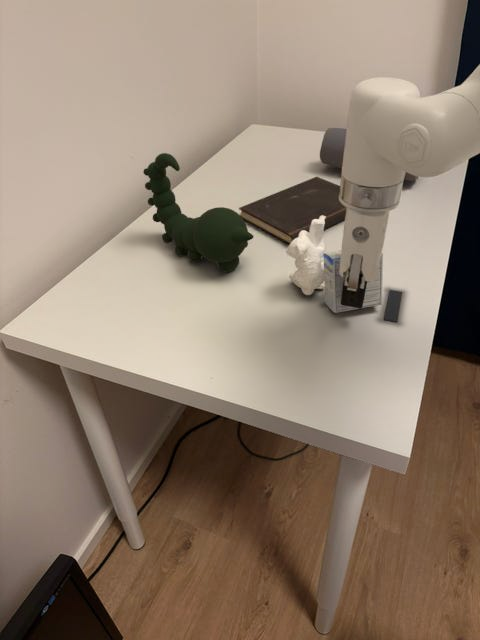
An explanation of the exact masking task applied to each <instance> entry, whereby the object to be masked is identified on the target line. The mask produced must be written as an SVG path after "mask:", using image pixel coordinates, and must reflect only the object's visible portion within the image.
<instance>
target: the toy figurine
mask: <svg viewBox="0 0 480 640" xmlns="http://www.w3.org/2000/svg"><path fill="white" fill-rule="evenodd" d="M168 167H170V168H172V169H173V170H175V171H176V172H179V171H180V164H179V162H178V161H177V159H176V157H175V156H173V155H172V154H171V153H167V152H162V153H159V154H158V155H157V156H156V157H155V158H154V161H153V162H150V163H149V164H148V166H147V167H146V168H144V169H143V172H142V173H143V175H144V176H147V177H148V179H149V181H147V182H145V184H144V188H145V190H147V191H151V193H152V197H149V198H148V199H147V204H148V205H149V206H154V207H155V208H156V212H155V213H153V215H152V220H153V222H155V223H161V225H163V228H164V231H165V232H164V233H163V234H162V235H161V240H162V241H163V243H166V244H169V243H172V242H173V243H174V245H175V246H174V249H173V251H174V252H175V254H176V256H180V257H181V256H184V255H185V253H186V252H187V258H188V259H189V260H190V262H191V263H197V262H199V261H201V260H202V259H203V258H205V259H207V260H208V261H210V262H213V263H217V267H218V269H219V270H220V271H221V272H224V273H228V272H231V271H233V270H235V269H236V268H237V267H238V266H239V265H240V257H239V256H240V255H241V254H243V252H244V250H245V249H246V248H247V247H249V246H248V245H249V241H251V240H253V239H254V237H255V236H254V234H252V232H250V231H249V230H248V226H247V224H246V221H245V220H243V219H242V217H241V214H239V213H238V212H236V211H235V210H233V209H231V208H228V207H221V206H220V207H213V208H210V209H207V210H206V211H204V212H203V213H202V214H201V215H200V216H197V217H194V218H193V217H188V216H187V215H186V214H184V213H183V212H182V209H181V207H180V205H179V204H178V203H177V202H176V194H175V193H174V191H173V190H172V189H171V187H172V186H171V185H172V183H171V180H170V178H169V177H168V176H167V168H168Z"/></svg>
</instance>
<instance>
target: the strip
mask: <svg viewBox="0 0 480 640" xmlns="http://www.w3.org/2000/svg"><path fill="white" fill-rule="evenodd" d="M402 297H403V291H400V290H393V289H389V293H388V297H387V301H386V302H387V303H386V309H385V313H384V317H383V321H388V322H392V323H398V321H399V315H400V309H401V303H402Z"/></svg>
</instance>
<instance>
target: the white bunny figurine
mask: <svg viewBox="0 0 480 640" xmlns="http://www.w3.org/2000/svg"><path fill="white" fill-rule="evenodd" d="M325 218H326V216H323V215H321V216H320V217H319V219H313V220H312V222H311V226H310V231H309V233H308V232H307V231H305V230H302V231H301V232H300V233H299V237H298V238H295V239H294V240H293V241H292V242H291V243H290V245H288V246H287V248H286V250H285V253H286V255H287V256H289V257H291V258H293V259H294V266H295V267H296V269H297V270H295V271H294V272H293V273H290V274H289V275H288V276H289V279H290V280H291V281H292V282H293V283H294V285H296V287H298V288H300V289H301V292H302V293H303V294H304V295H305V296H310V295H312V294H313V293H314V291H315V290H323V289H324V290H325V283H324V260H321V258H323V257H324V256H323V255H324V253H326V246H325V242H324V240H323V236H324V230H325V229H324V225H325V221H324V220H325Z"/></svg>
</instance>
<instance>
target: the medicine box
mask: <svg viewBox="0 0 480 640" xmlns="http://www.w3.org/2000/svg"><path fill="white" fill-rule="evenodd" d="M322 257H323V261H324V282H323V284H324V285H325V288H324V302H325V304H326V306H327V307H328V308H329V309H330V310H331V311H332V312H333V313H334V314H337V313H338V314H339V313H343V312H348V311H353V310H359V309H364V308H365V309H366V308H370V307H374V306H375V307H376V306H382V305H383V276H384V275H383V269H384V267H383V266H384V265H383V264H384V253H383V252H382V254H381V259H380V263H379V268H378V272H377V277H376V280H375V281H373V282H369V281H367V286H366V291H365V297H364V302H363V306H362V308H355V307H349V306H344V305H341V297H342V290H343V283H344V280H345V276H346V275H345V276H344V277H343V278H342V277H341V276H340V274H339V270H340V258H341V249H340V250H333V251H328V252H325V253H324V255H323V256H322Z"/></svg>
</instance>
